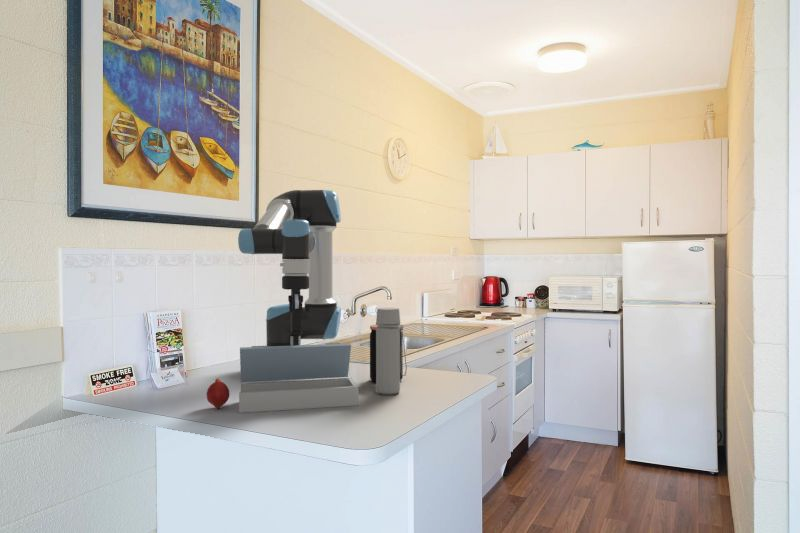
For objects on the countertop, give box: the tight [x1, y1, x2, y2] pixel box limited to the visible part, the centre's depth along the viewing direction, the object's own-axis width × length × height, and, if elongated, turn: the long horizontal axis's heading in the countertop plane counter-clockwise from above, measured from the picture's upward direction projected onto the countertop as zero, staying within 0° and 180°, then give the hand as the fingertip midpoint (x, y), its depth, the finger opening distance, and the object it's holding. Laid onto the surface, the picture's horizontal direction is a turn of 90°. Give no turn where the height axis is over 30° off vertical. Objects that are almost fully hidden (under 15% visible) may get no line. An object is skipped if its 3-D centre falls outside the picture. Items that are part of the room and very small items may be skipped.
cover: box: [239, 342, 352, 383], centre depth 156 cm, size 1×30×13 cm
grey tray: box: [238, 377, 360, 414], centre depth 153 cm, size 12×31×5 cm, turn 104°
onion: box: [206, 378, 230, 409], centre depth 148 cm, size 6×6×8 cm
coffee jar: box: [369, 324, 404, 384], centre depth 181 cm, size 11×11×18 cm
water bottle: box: [375, 307, 408, 396], centre depth 165 cm, size 9×8×25 cm
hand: (295, 358), depth 157 cm, fingers closed
